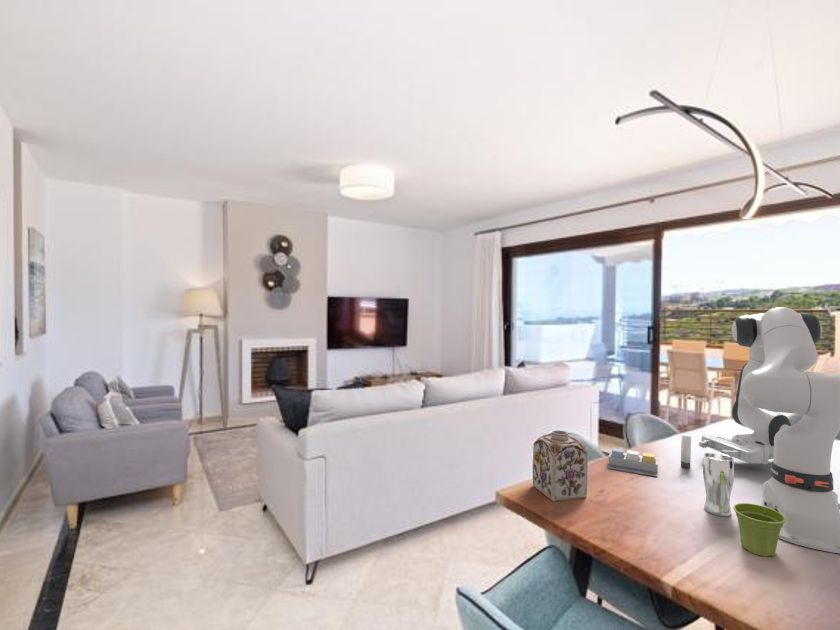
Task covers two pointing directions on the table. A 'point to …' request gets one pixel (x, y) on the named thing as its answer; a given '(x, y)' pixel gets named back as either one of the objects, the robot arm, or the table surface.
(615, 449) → the key slate
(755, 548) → the plant pot
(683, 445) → the white rounded cylinder
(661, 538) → the table surface
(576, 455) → the decorative jar
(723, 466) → the beer glass
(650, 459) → the key amber
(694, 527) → the table surface
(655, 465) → the keypad
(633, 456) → the key white
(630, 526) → the table surface
